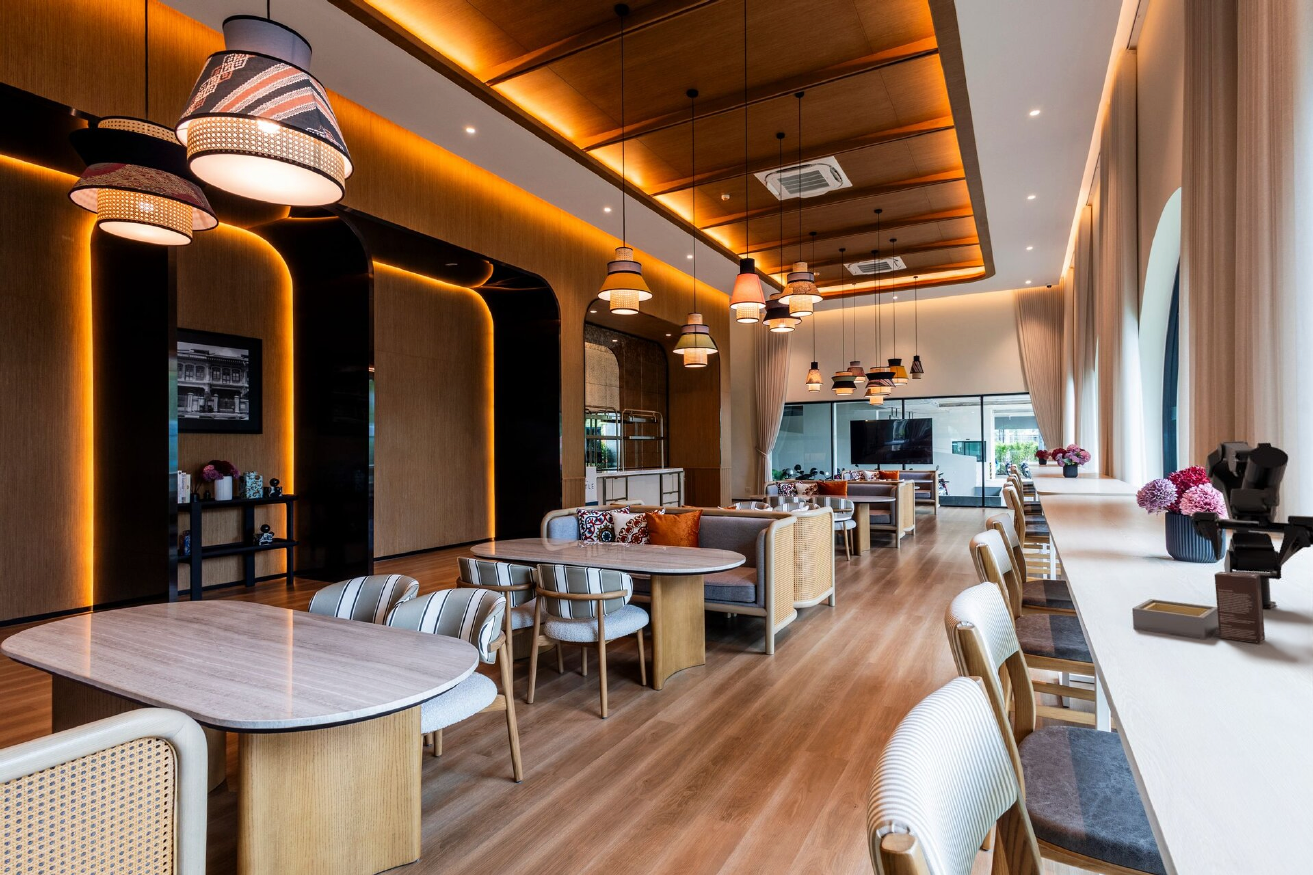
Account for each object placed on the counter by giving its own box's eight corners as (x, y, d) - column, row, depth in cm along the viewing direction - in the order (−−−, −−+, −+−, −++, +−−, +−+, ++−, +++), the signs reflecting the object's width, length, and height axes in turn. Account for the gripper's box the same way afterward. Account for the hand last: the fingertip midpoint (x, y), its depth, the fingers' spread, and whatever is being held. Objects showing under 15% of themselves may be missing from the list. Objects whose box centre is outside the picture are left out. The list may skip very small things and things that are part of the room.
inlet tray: (1151, 618, 139) (1150, 598, 139) (1220, 627, 130) (1219, 607, 130) (1133, 628, 132) (1132, 608, 132) (1204, 639, 123) (1203, 617, 123)
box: (1265, 639, 122) (1261, 573, 122) (1260, 644, 119) (1256, 577, 119) (1223, 633, 126) (1219, 570, 126) (1217, 638, 123) (1213, 573, 124)
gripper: (1191, 472, 139) (1176, 532, 132) (1315, 473, 124) (1306, 540, 117) (1204, 506, 143) (1191, 565, 137) (1325, 511, 129) (1317, 577, 122)
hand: (1247, 561), depth 128 cm, fingers open, 9 cm apart
